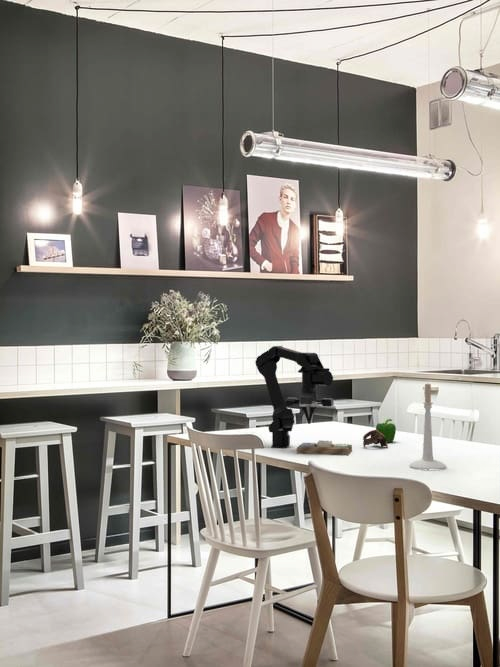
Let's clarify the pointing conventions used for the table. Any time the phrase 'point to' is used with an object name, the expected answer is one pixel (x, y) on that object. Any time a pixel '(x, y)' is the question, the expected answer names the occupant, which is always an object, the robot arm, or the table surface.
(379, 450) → the table surface
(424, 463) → the candlestick
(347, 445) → the tile three
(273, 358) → the robot arm
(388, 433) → the bell pepper
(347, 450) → the tile board
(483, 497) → the table surface
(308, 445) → the tile one
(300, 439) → the table surface
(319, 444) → the tile two
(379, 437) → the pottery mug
